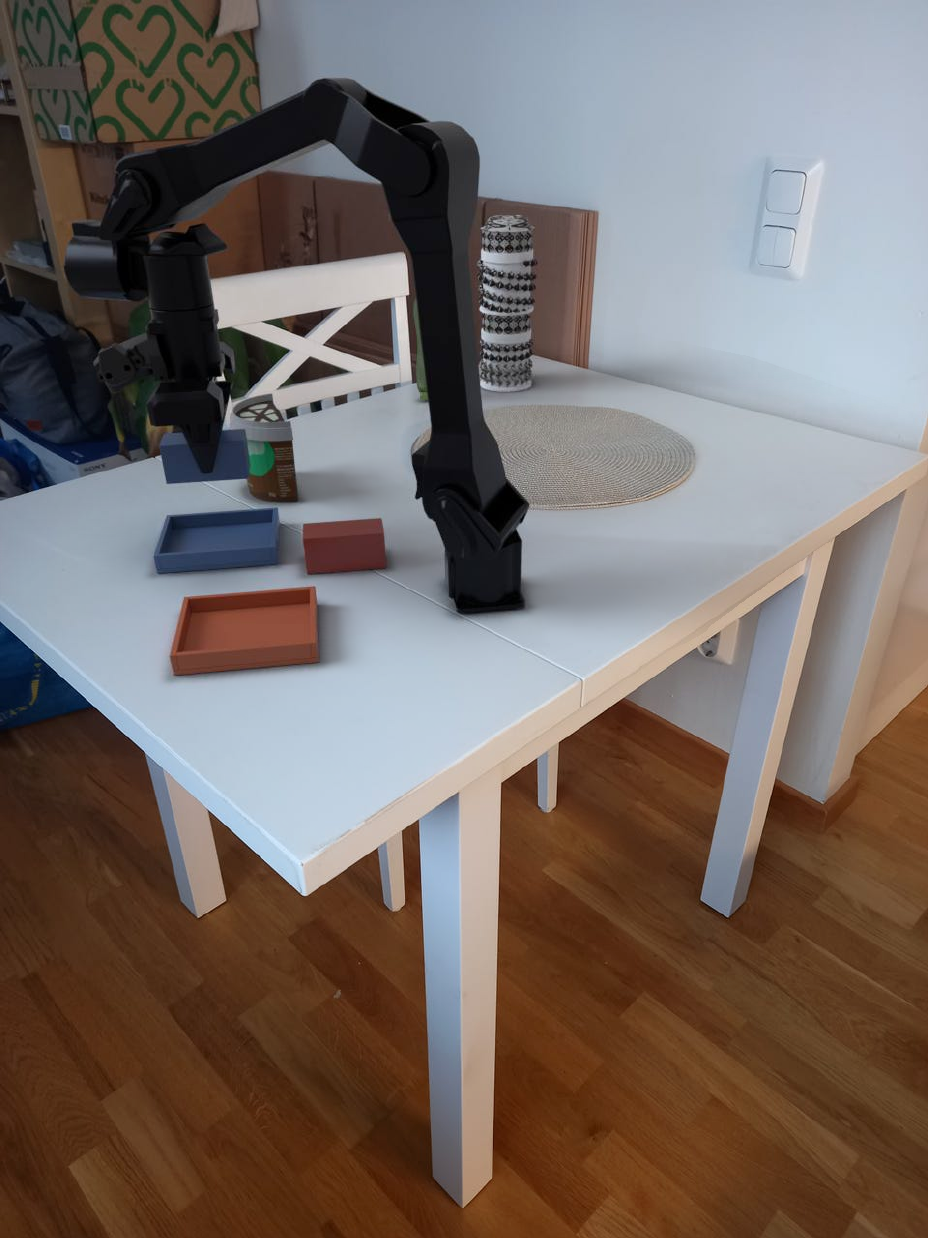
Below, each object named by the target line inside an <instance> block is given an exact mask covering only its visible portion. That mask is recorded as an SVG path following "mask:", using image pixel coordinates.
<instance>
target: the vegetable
mask: <svg viewBox="0 0 928 1238" xmlns="http://www.w3.org/2000/svg"><path fill="white" fill-rule="evenodd" d="M412 305H413V306H412V307H413V309H412V315H413V321H414V327H415V333H416V347H417V349H416V350H417V353H416V363H415V364H416V365H415V374H416V375H415V376H416V387H417V390H418V392H419V398H420V401H421V402H424V401H428V394H427V386H426V377H425V369H424V361H423V353H422V345H421V336H420V328H419V320H418V312H417V303H416V297H415V298H414V301H413V304H412Z"/></svg>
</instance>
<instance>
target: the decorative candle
mask: <svg viewBox="0 0 928 1238" xmlns="http://www.w3.org/2000/svg"><path fill="white" fill-rule="evenodd" d="M535 229H536V227H534V226H533V225H532V224H531V223H530V220H529V218H528V217H526V216H524V215H520V214H497V215H493V216H490V217H489V218H488V220H487V221H486V223H485V225H484V226H482V227H481V228H480V230H482V231H481V232H482V237H481V238H482V242H481V243H482V248H481V249H480V258H479V259H478V261H477V263H476V266H477V269H478V270H479V271H478V272H477V274H476V275H477V280H478V281H480V282H481V283H480V284H479V286H478V287H477V288H478V289H477V290H478V294H480V295H479V296H478V304H479V305H480V307H479V311H480V312H481V313H482V328H481V336H480V338H481V339H480V340H479V347H481V349H480V350H479V356H480V357H482V359H480V361H479V363H478V364H479V369H480V370H479V375H480V386H481V389H485V390H486V391H487V390H488V391H491V392H499V393H513V392H520V391H524V390H527V389H529V388H531V386H532V385H533V384H532V380H531V378H532V377H533V371H532V370H531V368H533V366H534V365H533V361H532V359H531V357H532V356H533V350H532V348H531V347H533V346H534V342H533V339H532V327H531V314H532V312H533V311H534V309H535V307H534V304H535V302H536V300H535V298H533V297H532V296H531V292H533V291H535V290H536V289H537V286H536V285H535V284H534V283H533V281H534V280H536V279H537V274H536V273H534V272H533V271H532V268H533V269H534V267H535V266H537V265H538V264H539V262H538V260H536V258H534V248H533V234H534V233H533V231H534V230H535Z"/></svg>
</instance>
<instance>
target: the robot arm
mask: <svg viewBox="0 0 928 1238" xmlns="http://www.w3.org/2000/svg"><path fill="white" fill-rule="evenodd" d="M329 144H331V145H333V146H334V147H335V148H336V149H337V150H338V151H339V152H340V153H341V154H342V155H343V156H344V157H345V158H346V159H347V160H348V161H350V162H351V163H352V165H354V166H355V167H356V168H358V169H359V170H361V171H362V172H364V173H365V174H367V175H369V176H370V177H372V178H374V179H375V180H376V181H379V182H380V185H381V188H382V191H383V194H384V195H383V196H384V200H385V203H386V207H387V210H388V213H389V216H390V220H391V222H392V224H393V226H394V227H395V230H396V232H397V233H398V235H399V236H400V239H401V240H402V242H403V245H404V246H405V248H406V249H407V251H408V255H409V258H410V262H411V269H412V270H411V271H412V277H413V278H412V279H413V287H414V294H415V295H414V296H415V298H416V303H417V312H418V320H419V328H420V336H421V345H422V353H423V361H424V369H425V377H426V386H427V394H428V400H427V402H428V409H429V416H430V426H431V427H430V430H431V431H430V436H429V439H428V440H427V441H426V442H424V444H423V445H422V446H420V447H419V448H418V449H417V450H416V451H414V452H413V453H412V454H411V466H412V470H413V473H414V477H415V482H416V491H415V494H414V499H415V500H419V499H421V504H422V508H423V511H424V513H425V515H426V516H427V518H428V519H429V520H432V521H433V522H434V524H435V526H436V529H437V531H438V534H439V536H440V540H441V542H442V544H443V547H444V580H445V581H444V582H445V589H446V592H447V596H448V597H449V599H450V600H453V604H454V607H455V611H456V613H459V614H468V613H480V612H490V611H502V610H503V611H504V610H514V609H522V608H525V606H526V600H525V598H524V595H523V593H522V564H523V563H522V562H523V561H522V560H523V557H522V555H523V540H522V538H521V535H520V533H519V531H518V527H519V526H520V525H522V524H523V523H524V520H525V518H526V517H527V514H528V512H529V509H530V503H529V501H528V500H527V499H526V498H525V497H524V496H523V494H522V493H521V492H519V490H518V489H517V488H516V487H515V486H514V484H513V483H512V482H511V481H510V480H509V479H508V478H507V475H506V470H505V467H504V463H503V459H502V455H501V451H500V448H499V444H498V441H497V440H496V439H495V437H494V435H493V433H492V431H491V429H490V428H489V425H488V424H487V422H486V420H485V417H484V409H483V398H482V387H481V386H480V381H481V378H480V366H479V364H480V363H479V355H478V345H477V333H476V323H475V312H474V301H473V290H472V279H471V278H472V277H471V268H470V257H469V256H470V255H469V244H470V239H471V234H472V230H473V226H474V222H475V217H476V213H477V210H478V209H477V208H478V200H479V187H480V186H479V185H480V170H481V157H480V152H479V147H478V145H477V143H476V140H475V138H474V137H473V136H471V135H470V134H469V132H467V131H466V130H465V128H464V127H462V125H459V124H457V123H455V122H453V121H447V120H436V121H430V120H429V119H428V118H425V116H422V115H421V114H419V113H417V112H415V111H413V110H410V109H408V108H407V107H403V106H401V105H399V104H397V103H395V102H393V101H391V100H388V99H387V98H383V97H382V96H379V95H378V94H376V93H374V92H373V91H371V90H369V89H368V88H366V87H364V86H362V85H361V84H360V83H359V82H358V81H357V80H355V79H352V78H347V77H323V78H319V79H316V80H314V81H313V82H311V83H310V85H309V86H307V87H306V88H305V89H303V90H302V91H299V92H297V93H295V94H293V95H291V96H289V97H287V98H285V99H283V100H281V101H278V102H277V103H274V104H272V105H270V106H268V107H266V108H264V109H261V110H260V111H258V112H256V113H253V114H251V115H249V116H247V117H245V118H242V119H241V120H239V121H237V122H234V123H233V124H230V125H228V126H226V127H224V128H222V129H220V130H217V131H216V132H213V133H212V134H210V135H207V136H205V137H202V138H201V139H199V140H196V141H192V142H186V143H181V144H175V145H169V146H162V147H158V148H152V149H147V150H143V151H138V152H133V153H128V154H125V155H124V156H122V157H121V158H120V159H119V160H118V161H117V163H116V164H115V166H114V171H115V175H114V186H113V190H112V192H111V195H110V198H109V201H108V203H107V205H106V208H105V211H104V214H103V217H102V220H101V221H100V220H97V219H83V220H76V221H72V223H71V229H72V234H73V237H71V239H70V240H69V242H68V243H67V246H66V249H65V254H64V262H63V265H62V266H63V271H64V275H65V278H66V280H67V282H68V284H69V287H71V289H72V290H73V291H74V292H75V293H76V294H77V295H79V296H80V297H82V298H86V299H98V300H99V299H100V300H108V301H109V300H110V301H111V300H112V301H124V302H135V303H136V302H137V303H138V302H139V303H140V302H142V301H144V300H145V299H146V298H147V300H148V307H149V312H150V316H151V317H150V320H149V321H148V323H146V326H145V332H144V333H141V334H139V335H136V336H134V337H131V338H129V339H126V340H125V341H122V342H120V343H118V342H114V343H113V344H112V345H111V346H109V347H107V348H105V347H101V349H100V350H99V351H98V353H97V357H96V358H95V359H94V360H93V362H92V363H93V367H94V369H95V370H96V379H97V381H98V382H100V383H104V384H105V385H106V386H107V388H108V390H109V392H110V393H111V394H113V395H114V394H117V393H120V392H122V391H124V390H125V387H128V386H130V385H132V384H135V383H138V382H140V381H143V380H144V379H146V378H149V377H150V376H151V377H152V375H153V380H154V382H156V383H157V382H160V383H159V384H158V385H157V387H155V389H153V391H152V393H151V394H150V396H149V398H148V400H147V403H146V409H147V414H148V419H149V425H150V426H153V427H156V428H157V427H159V428H160V427H173V426H174V427H177V428H178V429H179V430H180V431H181V432H180V433H182V434H183V435H184V437H185V439H186V441H187V444H188V446H189V448H190V450H191V452H192V454H193V456H194V459H195V461H196V463H197V465H198V467H199V469H200V471H201V473H212V472H213V468H214V463H215V459H216V454H217V450H218V445H219V441H220V437H221V432H222V430H224V429H223V428H224V425H225V420H226V415H227V411H228V407H229V402H230V399H231V398H230V397H231V393H232V389H233V384H234V382H233V381H232V380H218V378H222V377H223V374H224V370H226V372H227V375H234V374H235V371H236V361H235V355H234V349H233V348H231V346H229V345H228V344H226V343H225V342H224V341H220V335H219V329H218V324H219V322H220V316H219V309H217V308H215V302H214V295H213V288H212V283H211V275H210V270H209V268H210V267H209V262H208V256H210V255H214V254H219V253H222V252H225V251H227V248H228V244H227V243H226V242H225V241H224V240H223V239H222V238H221V237H219V235H217V234H215V233H214V232H213V231H212V230H211V229H210V228H209V226H208V224H207V223H205V222H202V223H197V224H192V225H190V226H188V229H187V230H186V231H169V230H173V229H175V228H176V227H177V226H178V225H179V224H180V223H183V222H189V221H193V220H196V219H198V218H200V217H202V216H203V215H204V214H206V213H207V212H209V211H210V210H211V209H212V208H213V207H215V206H216V205H218V204H219V203H221V202H222V201H223V199H224V198H225V197H226V195H227V194H228V193H229V192H230V191H231V190H232V189H233V188H235V187H236V186H237V185H239V184H240V183H243V182H244V181H247V180H249V179H251V178H255V177H257V176H258V175H261V174H263V173H266V172H267V171H270V170H272V169H274V168H277V167H280V166H281V165H284V164H286V163H288V162H291V161H293V160H295V159H297V158H300V157H302V156H304V155H307V154H308V153H311V152H314V151H316V150H318V149H321V148H322V147H325V146H327V145H329ZM160 232H161V233H160ZM156 233H159V234H158V235H157V236H156V237H155V238H154V239H153V241H152V240H150V235H151V234H156ZM169 380H172V381H170V382H169Z"/></svg>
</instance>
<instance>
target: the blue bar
mask: <svg viewBox="0 0 928 1238" xmlns="http://www.w3.org/2000/svg"><path fill="white" fill-rule="evenodd" d="M158 446H159V451H160V457H161V463H162V467H163V473H164V477H165V483H166V484H167V485H172V484H173V485H174V484H187V483H188V484H189V483H203V482H220V481H232V480H233V481H235V480H247V479H248V478H249V472H250V459H249V452H248V445H247V438H246V431H245V429H235V430H230V429H222V432H221V437H220V441H219V445H218V450H217V454H216V459H215V463H214V468H213V472H212V473H201V471H200V469H199V467H198V465H197V463H196V461H195V459H194V456H193V454H192V452H191V450H190V448H189V446H188V444H187V441H186V439H185V437H184V435H183V434H182V432H170V433H169V432H168V433H164V434H163V436H162V437H161V441H160V443H159V445H158Z"/></svg>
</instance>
